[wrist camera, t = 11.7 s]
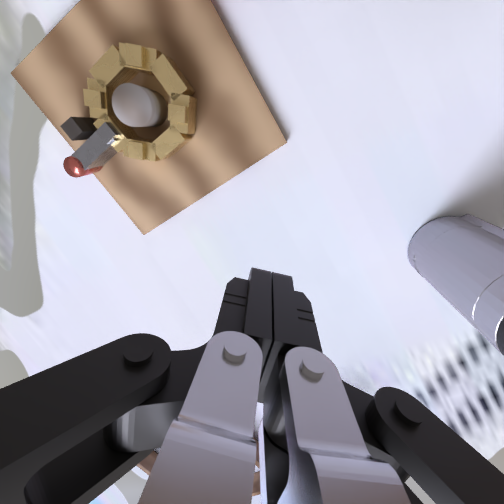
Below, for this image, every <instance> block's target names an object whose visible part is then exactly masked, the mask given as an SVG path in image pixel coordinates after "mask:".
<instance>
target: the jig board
mask: <svg viewBox="0 0 504 504" xmlns="http://www.w3.org/2000/svg"><path fill="white" fill-rule="evenodd" d="M119 42H120V43H129V44H135V45H141V46H143V47H148V48H153V49H157V50H158V51H160V52H161V53H163V54H164V55H166V56H167V57H169V58H170V59H172V60H173V61H174V62H175V64H176V65H177V66H178V68H179V69H180V71H181V72H182V74H183V75H184V76H185V78H186V79H187V81H188V82H189V84H190V85H191V86H192V88H193V89H194V91H195V93H194V94H193V95H192V96H191V97H194V98H197V111H196V127H195V133H194V134H190V136H191V137H192V138H193V139H191V140H190V141H189V142H188V143H187V144H186V145H184V146H183V147H182V148H181V149H180V150H179V151H177V152H176V153H175V154H174V155H173V156H171V157H170V158H166V159H163V160H159V161H156V162H155V161H149V160H139V159H133V158H129V157H126V156H123V152H119V153H118V152H117V153H116V154H115V155H114V156H113V157H112V158H111V159H110V160H109V161H108V162H106V163H105V164H104V165H103V166H102V169H101V170H100V171H99V172H96V173H93V174H94V175H95V176H96V178H97V179H98V180H99V181H100V183H101V184H102V185H103V186H104V187H105V189H106V190H107V191H108V192H109V193H110V195H111V196H112V197H113V198H114V200H115V201H116V202H117V203H118V204H119V206H120V207H121V208H122V209H123V210H124V212H125V213H126V214H127V215H128V217H129V218H130V219H131V220H132V221H133V223H134V224H135V225H136V226H137V228H138V229H139V230H140V231H141V232H142V234H143V235H145V234H146V233H148V232H150V231H151V230H153V229H154V228H156V227H157V226H159V225H160V224H162V223H163V222H165V221H167V220H168V219H170V218H171V217H173V216H174V215H176V214H177V213H179V212H180V211H182V210H184V209H185V208H187V207H188V206H190V205H191V204H193V203H194V202H196V201H197V200H199V199H201V198H202V197H204V196H205V195H207V194H208V193H210V192H211V191H213V190H214V189H216V188H218V187H219V186H221V185H222V184H224V183H225V182H227V181H228V180H230V179H231V178H233V177H235V176H236V175H238V174H239V173H241V172H242V171H244V170H245V169H247V168H249V167H250V166H252V165H253V164H255V163H256V162H258V161H259V160H261V159H262V158H264V157H266V156H267V155H269V154H270V153H272V152H273V151H275V150H276V149H278V148H279V147H281V146H283V145H284V144H286V143H287V142H286V140H285V138H284V136H283V134H282V132H281V131H280V129H279V127H278V125H277V123H276V121H275V119H274V118H273V116H272V114H271V112H270V110H269V108H268V106H267V104H266V103H265V101H264V99H263V97H262V95H261V93H260V91H259V89H258V88H257V86H256V84H255V82H254V80H253V78H252V76H251V75H250V73H249V71H248V69H247V67H246V65H245V63H244V61H243V60H242V58H241V56H240V54H239V52H238V50H237V48H236V47H235V45H234V43H233V41H232V39H231V37H230V35H229V33H228V32H227V30H226V28H225V26H224V24H223V22H222V20H221V18H220V17H219V15H218V13H217V11H216V9H215V7H214V5H213V4H212V2H211V0H80V1H79V2H78V3H77V4H76V5H75V7H74V8H73V9H72V10H71V11H70V12H69V13H68V14H67V15H66V16H65V17H64V18H63V19H62V20H61V21H60V22H59V23H58V24H57V25H56V26H55V27H54V28H53V29H52V30H51V32H50V33H49V34H48V35H47V36H46V37H45V38H44V39H43V40H42V41H41V42H40V43H39V44H38V45H37V46H36V47H35V48H34V49H33V50H32V51H31V52H30V54H28V55H27V57H26V58H25V59H24V60H23V61H22V62H21V63H20V64H19V65H18V66H17V67H16V68H15V69H14V70H13V71H12V72H11V74H12V76H13V77H14V78H15V79H16V80H17V82H18V83H19V84H20V85H21V86H22V88H23V89H24V90H25V91H26V93H27V94H28V95H29V96H30V97H31V99H32V100H33V101H34V102H35V104H36V105H37V106H38V107H39V108H40V110H41V111H42V112H43V113H44V114H45V116H47V118H48V119H49V121H50V122H51V123H52V124H53V125H54V127H55V128H56V129H57V130H58V131H59V133H60V134H61V135H62V136H63V138H64V139H65V140H66V141H67V142H68V144H69V145H70V146H71V147H72V148H73V150H74V151H76V150H77V149H78V148H79V147H80V146H81V145H82V144H83V143H84V142H85V141H86V140H87V139H88V138H89V137H90V136H91V135H92V134H93V133H94V132H95V131H96V130H97V128H96V127H95V126H94V124H93V123H94V122H95V121H96V120H97V119H98V118H93V117H90V109H89V106H85V105H84V94H83V89H88V85H87V78H92V79H95V78H94V77H93V76H92V74H91V73H90V72H89V70H90V69H91V68H92V67H93V66H94V65H95V63H96V62H97V61H98V60H99V59H100V58H101V57H102V56H103V55H104V53H105V52H106V51H107V50H108V49H109V48H110V47H111V46H112V45H115V46H117V47H119ZM168 104H171V97H170V95H169V94H168V93H167V91H166V90H165V89H164V87H163V86H162V85H161V83H160V82H159V80H158V79H157V78H156V76H155V75H149V74H144V73H138V74H137V75H136V76H135V77H134V78H133V79H132V80H131V81H130V82H129V83H123V84H121V85H119V86H118V87H117V88H116V89H115V90H114V92H113V95H112V107H113V110H114V112H115V114H116V116H117V117H118V119H119V120H120V121H121V122H123V123H124V124H126V125H128V126H131V127H132V129H133V130H134V131H135V132H136V134H137V135H138V136H139V137H140V138H146V139H151V140H156V139H157V138H158V137H159V136H160V135H161V134H162V133H163V132H165V131H166V130H167V129H168V128H169V127H170V120H168Z"/></svg>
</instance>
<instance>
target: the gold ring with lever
mask: <svg viewBox="0 0 504 504" xmlns="http://www.w3.org/2000/svg"><path fill="white" fill-rule="evenodd" d="M89 72H90V73H91V74H92V76H93V77H94V78H95V79H92V78H87V85H88V89H83V94H84V105H85V106H89V109H90V117H93V118H98V119H97V120H96V121H95V122H94V123H93V124H94V126H95V127H96V128H97V130H96V131H95V132H94V133H93V134H92V135H91V136H90V137H89V138H88V139H87V140H86V141H85V142H84V143H83V144H82V145H81V146H80V147H79V148H78V149H77V150H76V151H75V152H74V153H73V154H72V155H71V156H69V157H67V158H65V160H64V163H63V165H64V169H65V171H66V172H67V173H68V174H69V175H70V176H72V177H81V176H85V175H88V174H92V173H96V172H99V171H100V170H101V169H102V166H103V165H104V164H105V163H106V162H108V161H109V160H110V159H111V158H112V157H113V156H114V155H115V154H116V153H117V152H118V153H119V152H123V156H126V157H129V158H133V159H139V160H149V161H155V162H156V161H159V160H163V159H166V158H170V157H171V156H173V155H174V154H175V153H176V152H177V151H179V150H180V149H181V148H182V147H183V146H184V145H186V144H187V143H188V142H189V141H190V140H191V139H193V138H192V137H191V136H190V134H194V133H195V127H196V111H197V98H194V97H191V96H192V95H193V94H194V93H195V91H194V89H193V88H192V86H191V85H190V84H189V82H188V81H187V79H186V78H185V76H184V75H183V74H182V72H181V71H180V69H179V68H178V66H177V65H176V64H175V62H174V61H173V60H172V59H170V58H169V57H167V56H166V55H164V54H163V53H161V52H160V51H158V50H157V49H153V48H148V47H143V46H141V45H135V44H129V43H120V42H119V47H117V46H115V45H112V46H111V47H110V48H109V49H108V50H107V51H106V52H105V53H104V55H103V56H102V57H101V58H100V59H99V60H98V61H97V62H96V63H95V65H94V66H93V67H92V68H91V69H90V70H89ZM138 73H144V74H149V75H155V76H156V78H157V79H158V80H159V82H160V83H161V85H162V86H163V87H164V89H165V90H166V91H167V93H168V94H169V95H170V97H171V104H168V120H170V127H169V128H168V129H167V130H166V131H165V132H163V133H162V134H161V135H160V136H159V137H158V138H157V139H156V140H151V139H146V138H140V137H139V136H138V135H137V134H136V132H135V131H134V130H133V129H132V127H131V126H128V125H126V124H124V123H123V122H121V121H120V120H119V119H118V117H117V116H116V114H115V112H114V110H113V107H112V95H113V92H114V90H115V89H116V88H117V87H118V86H119V85H121V84H123V83H129V82H130V81H131V80H132V79H133V78H134V77H135V76H136V75H137V74H138Z"/></svg>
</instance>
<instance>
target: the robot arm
mask: <svg viewBox="0 0 504 504" xmlns="http://www.w3.org/2000/svg"><path fill="white" fill-rule="evenodd" d="M408 258H409V261H410V263H411V265H412V266H413V267H414V268H415V269H416V270H417V272H418V273H419V274H420V275H421V276H422V277H424V278H425V279H426V280H427V281H428V282H429V283H430V284H431V285H432V286H433V287H434V288H435V289H436V290H437V291H438V292H439V293H440V294H441V295H442V296H443V297H444V298H445V299H446V300H447V301H448V302H449V303H450V304H451V305H452V306H453V307H454V308H455V309H456V310H457V311H458V312H459V313H461V314H462V315H463V316H464V317H465V318H466V319H467V320H468V321H469V322H470V323H471V324H472V325H473V326H474V327H475V328H476V329H477V330H478V331H479V332H480V333H481V334H482V335H483V336H484V337H485V338H486V339H487V340H488V341H489V342H490V343H491V344H492V345H493V346H494V347H495V348H496V349H497V350H498V351H500V352H501V353H502V354H503V355H504V229H502V228H499V227H497V226H495V225H493V224H490V223H488V222H486V221H483V220H481V219H479V218H477V217H474V216H472V215H470V214H467V215H465V216H462V217H452V216H449V217H442V218H438V219H435V220H433V221H431V222H428V223H427V224H425V225H424V226H423V227H421V228H420V229H419V230H418V231H417V232H416V233H415V235H414V236H413V238H412V239H411V242H410V244H409V248H408ZM257 402H260V403H264V407H263V417H262V420H261V422H260V425H259V431H258V435H259V462H260V489H261V504H423V503H422V502H421V501H420V499H419V498H418V497H417V496H416V495H415V494H414V493H413V492H412V490H410V488H409V487H408V486H407V485H406V484H405V483H404V482H405V481H406V480H407V479H408V478H409V477H410V476H411V477H412V478H413V479H414V480H415V481H416V483H417V484H418V485H419V486H420V487H421V488H422V489H423V490H424V491H425V492H426V493H427V494H428V495H429V497H430V498H431V499H432V500H433V501H434V502H435V503H436V504H504V474H503V473H501V472H500V471H499V470H498V469H497V468H496V467H495V466H494V465H492V464H491V463H490V462H489V461H488V460H487V459H485V458H484V457H483V456H482V455H481V454H480V453H478V452H477V451H476V450H475V449H474V448H473V447H472V446H470V445H469V444H468V443H467V442H466V441H465V440H463V439H462V438H461V437H460V436H459V435H458V434H456V433H455V432H454V431H453V430H452V429H451V428H450V427H448V426H447V425H446V424H445V423H444V422H443V421H441V420H440V419H439V418H438V417H437V416H436V415H434V414H433V413H432V412H431V411H430V410H429V409H428V408H426V407H425V406H424V405H423V404H422V403H421V402H419V401H418V400H417V399H416V398H414V397H413V396H411V395H410V394H408V393H406V392H404V391H402V390H400V389H397V388H393V387H383V388H380V389H379V390H378V391H377V392H376V394H375V395H374V397H373V396H371V395H369V394H367V393H365V392H363V391H361V390H359V389H357V388H355V387H353V386H351V385H349V384H347V383H346V382H344V381H343V380H341V377H340V374H339V372H338V369H337V367H336V366H335V364H334V363H333V362H332V361H331V360H330V359H329V358H328V357H327V356H326V355H324V354H323V353H322V348H321V344H320V340H319V336H318V331H317V327H316V323H315V319H314V315H313V310H312V306H311V302H310V301H309V300H308V298H307V297H306V296H305V295H304V293H302V292H298V291H294V287H293V280H292V277H291V276H287V275H283V274H279V273H274V272H272V273H271V272H270V271H265V270H261V269H257V268H251V271H250V274H249V278H248V280H245V279H240V278H236V277H235V278H233V279H232V280H231V281H230V282H228V283H227V286H226V290H225V293H224V297H223V301H222V305H221V308H220V312H219V316H218V320H217V323H216V327H215V331H214V334H213V336H212V338H211V339H210V340H209V341H208V342H207V343H206V344H204V345H202V346H200V347H198V348H195V349H191V350H180V351H171V349H170V347H169V345H168V344H167V343H166V342H165V341H164V340H163V339H161V338H160V337H157V336H155V335H151V334H145V333H139V334H132V335H128V336H125V337H122V338H120V339H117V340H115V341H113V342H110V343H108V344H106V345H103V346H101V347H98V348H96V349H94V350H91V351H89V352H87V353H84V354H82V355H80V356H77V357H75V358H72V359H70V360H68V361H65V362H63V363H61V364H58V365H56V366H53V367H51V368H49V369H46V370H44V371H42V372H39V373H37V374H35V375H32V376H30V377H27V378H25V379H23V380H20V381H18V382H16V383H13V384H11V385H9V386H6V387H4V388H1V389H0V504H89V503H90V502H91V501H92V500H94V499H95V498H96V497H97V496H99V495H100V494H101V493H102V492H104V491H105V490H106V489H107V488H109V487H110V486H111V485H112V484H114V483H115V482H116V481H117V480H119V479H120V478H121V477H122V476H123V475H125V474H126V473H127V472H128V471H130V470H131V469H132V468H133V467H135V466H136V465H137V464H138V463H140V462H141V461H142V460H143V459H145V458H146V457H147V456H148V455H149V454H150V453H152V451H153V450H154V449H155V448H160V451H159V453H158V456H157V458H156V461H155V463H154V465H153V468H152V470H151V473H150V475H149V478H148V480H147V482H146V485H145V488H144V490H143V492H142V495H141V497H140V499H139V502H138V504H251V500H252V490H253V481H254V472H255V462H256V441H255V440H253V432H254V423H255V415H256V407H257Z"/></svg>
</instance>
